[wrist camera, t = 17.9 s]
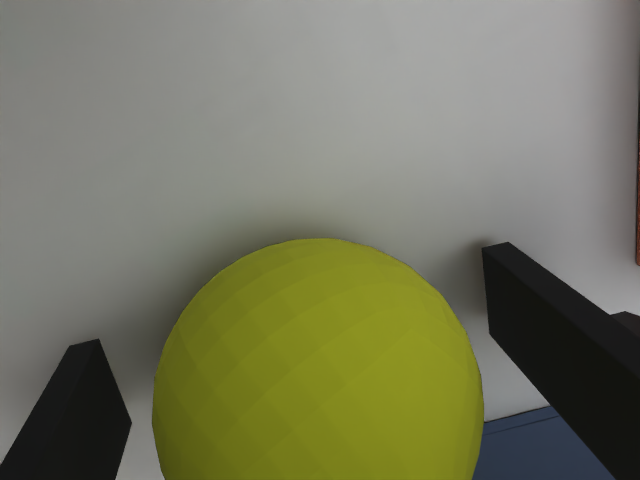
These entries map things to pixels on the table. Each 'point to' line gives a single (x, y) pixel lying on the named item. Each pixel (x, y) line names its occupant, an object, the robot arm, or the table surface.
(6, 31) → the table surface
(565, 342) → the robot arm
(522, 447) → the blue bin
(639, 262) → the terracotta bin
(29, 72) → the table surface
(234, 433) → the ornament
